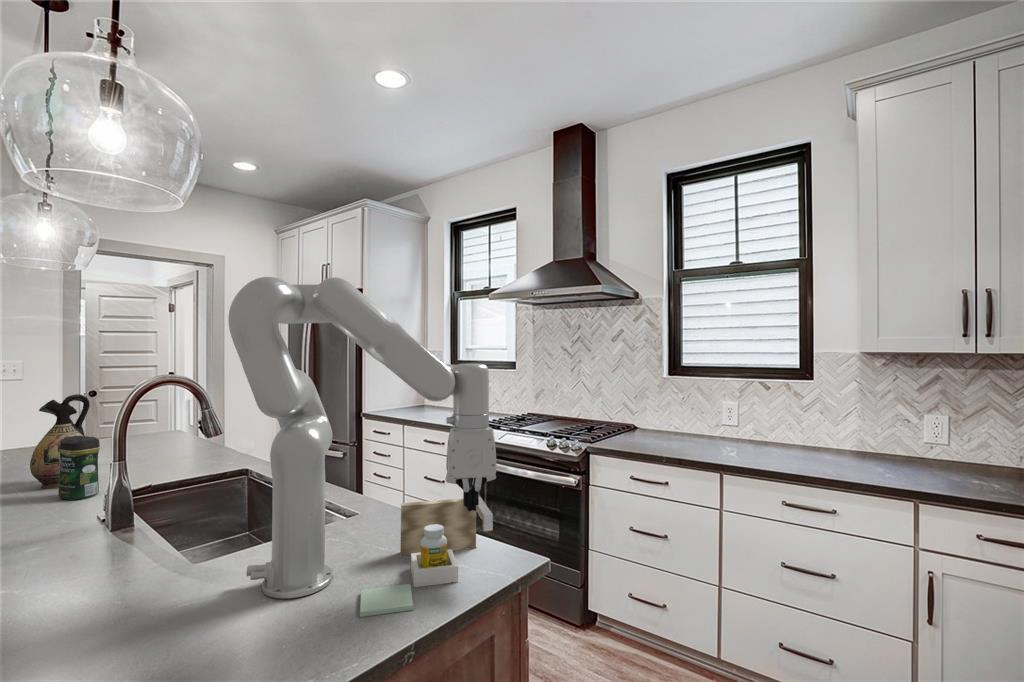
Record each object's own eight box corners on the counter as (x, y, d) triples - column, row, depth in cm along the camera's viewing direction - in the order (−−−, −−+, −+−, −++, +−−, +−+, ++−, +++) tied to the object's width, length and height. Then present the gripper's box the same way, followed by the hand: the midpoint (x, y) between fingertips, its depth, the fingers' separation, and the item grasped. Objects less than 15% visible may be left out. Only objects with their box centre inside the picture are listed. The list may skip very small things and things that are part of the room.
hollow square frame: (413, 587, 93) (414, 571, 93) (410, 567, 102) (410, 553, 102) (458, 581, 96) (458, 566, 96) (451, 563, 104) (451, 549, 104)
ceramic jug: (31, 494, 150) (33, 397, 150) (27, 485, 160) (30, 394, 160) (102, 483, 162) (104, 394, 163) (94, 475, 173) (97, 391, 173)
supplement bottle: (440, 566, 102) (440, 521, 103) (451, 576, 98) (452, 529, 98) (416, 573, 99) (416, 526, 100) (426, 583, 95) (427, 534, 95)
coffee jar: (52, 498, 146) (54, 437, 146) (82, 491, 153) (84, 432, 154) (73, 502, 143) (75, 439, 143) (103, 494, 150) (105, 434, 151)
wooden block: (400, 555, 108) (401, 505, 108) (400, 552, 110) (401, 503, 110) (475, 547, 112) (476, 500, 112) (474, 544, 114) (474, 497, 114)
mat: (359, 616, 83) (359, 612, 83) (361, 594, 91) (361, 589, 91) (413, 609, 85) (413, 605, 85) (410, 588, 93) (410, 584, 93)
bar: (480, 531, 96) (481, 514, 96) (464, 502, 114) (464, 488, 114) (495, 530, 97) (495, 513, 97) (476, 501, 115) (476, 487, 115)
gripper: (437, 426, 97) (437, 518, 96) (509, 423, 101) (509, 511, 100) (433, 420, 104) (433, 506, 104) (500, 418, 108) (500, 500, 108)
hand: (470, 508), depth 102 cm, fingers closed
